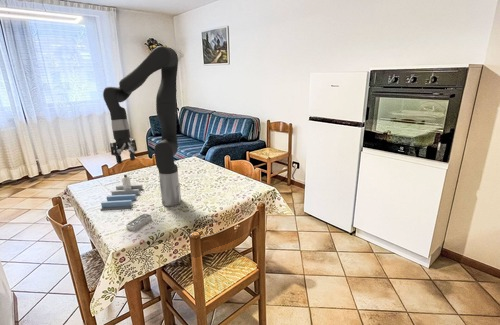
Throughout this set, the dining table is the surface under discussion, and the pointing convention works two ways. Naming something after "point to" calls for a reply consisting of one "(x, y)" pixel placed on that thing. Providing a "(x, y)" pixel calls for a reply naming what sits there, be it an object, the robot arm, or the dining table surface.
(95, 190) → the dining table surface
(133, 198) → the grey blue ridged block
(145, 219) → the multiport hub
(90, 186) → the dining table surface
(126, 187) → the white bottle with cap
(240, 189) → the dining table surface
